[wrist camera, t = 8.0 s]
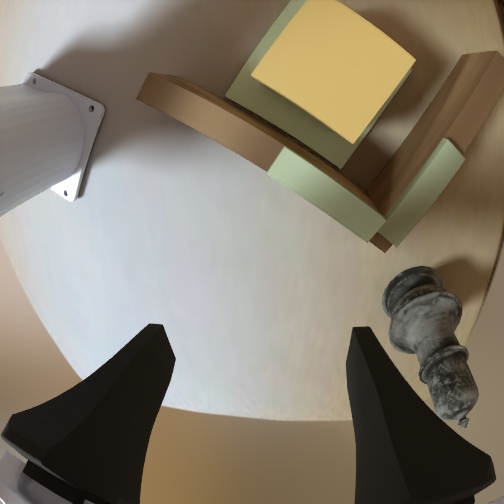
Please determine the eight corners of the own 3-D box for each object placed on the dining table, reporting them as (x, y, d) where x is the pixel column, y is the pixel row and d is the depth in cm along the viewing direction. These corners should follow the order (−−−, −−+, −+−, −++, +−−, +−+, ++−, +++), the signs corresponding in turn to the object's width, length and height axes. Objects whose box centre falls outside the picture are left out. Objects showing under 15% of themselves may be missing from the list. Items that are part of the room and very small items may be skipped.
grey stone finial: (436, 249, 18) (517, 377, 8) (449, 303, 20) (505, 420, 10) (368, 285, 20) (407, 433, 10) (390, 333, 22) (421, 460, 12)
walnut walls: (166, 97, 16) (131, 99, 12) (282, -64, 9) (279, -100, 5) (368, 223, 18) (387, 257, 14) (477, 71, 12) (518, 71, 8)
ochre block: (261, 83, 14) (250, 75, 10) (309, 19, 12) (316, -11, 8) (335, 132, 15) (353, 144, 11) (382, 69, 13) (416, 59, 9)
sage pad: (225, 96, 15) (224, 96, 15) (297, -6, 12) (297, -8, 11) (340, 168, 17) (340, 169, 16) (410, 70, 13) (412, 69, 13)
